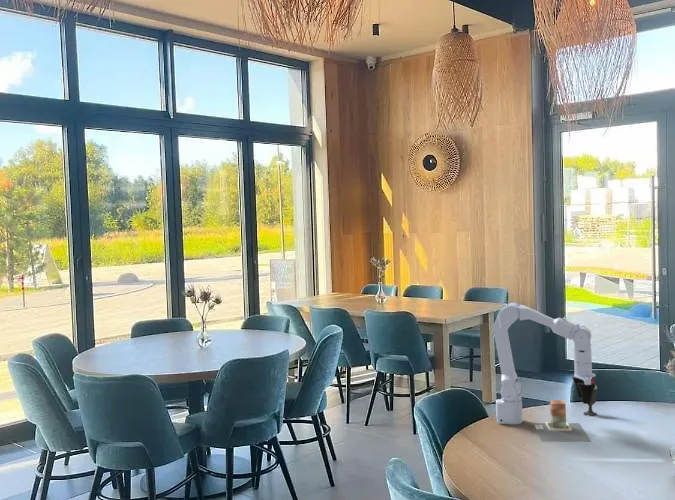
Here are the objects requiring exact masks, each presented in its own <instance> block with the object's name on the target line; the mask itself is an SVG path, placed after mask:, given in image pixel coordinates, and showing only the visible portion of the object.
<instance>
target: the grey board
mask: <svg viewBox="0 0 675 500" xmlns="http://www.w3.org/2000/svg"><path fill="white" fill-rule="evenodd" d="M532 424H533V426H534V429H535V431H536V432H537V435H538V437H539V439H540V441H541V442H561V443H562V442H568V443H569V442H570V443H571V442H581V443H583V442H584V443H587V442H588V443H589V442H590V443H591V442H592V439H590V437H589V436H588V434H587V433H586V431H585V429H584V428H583V427H582V426H581V424H580V423H579V422H578V423H577V422H567V421H566V429H554V428H552V427H551V421H550V422H549V421H548V422H547V421H545V422H532Z"/></svg>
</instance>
